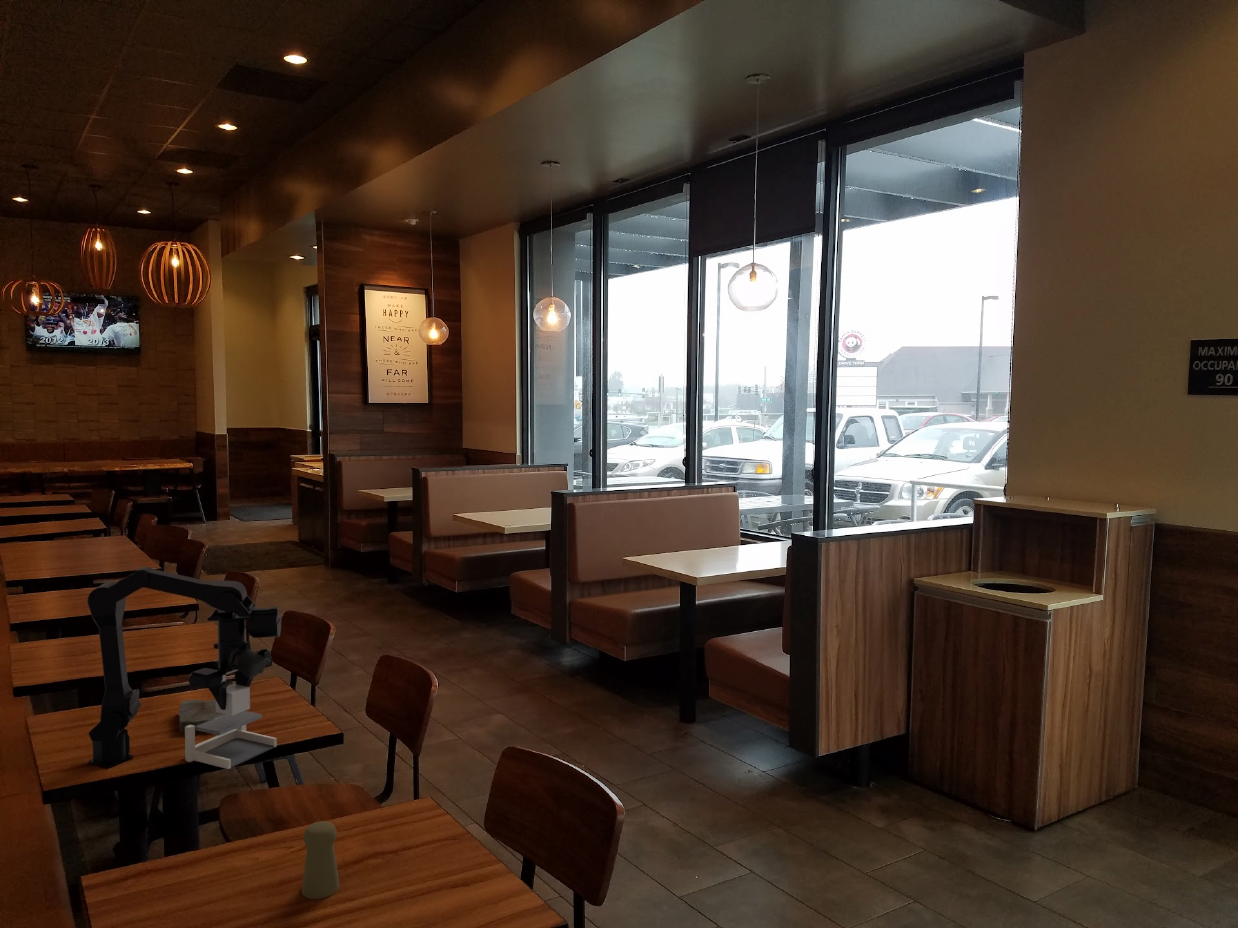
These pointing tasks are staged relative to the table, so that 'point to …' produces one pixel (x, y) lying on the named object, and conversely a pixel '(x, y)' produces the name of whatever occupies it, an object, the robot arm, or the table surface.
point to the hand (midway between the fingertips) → (232, 705)
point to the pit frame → (227, 747)
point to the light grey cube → (236, 700)
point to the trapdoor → (227, 722)
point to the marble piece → (196, 712)
